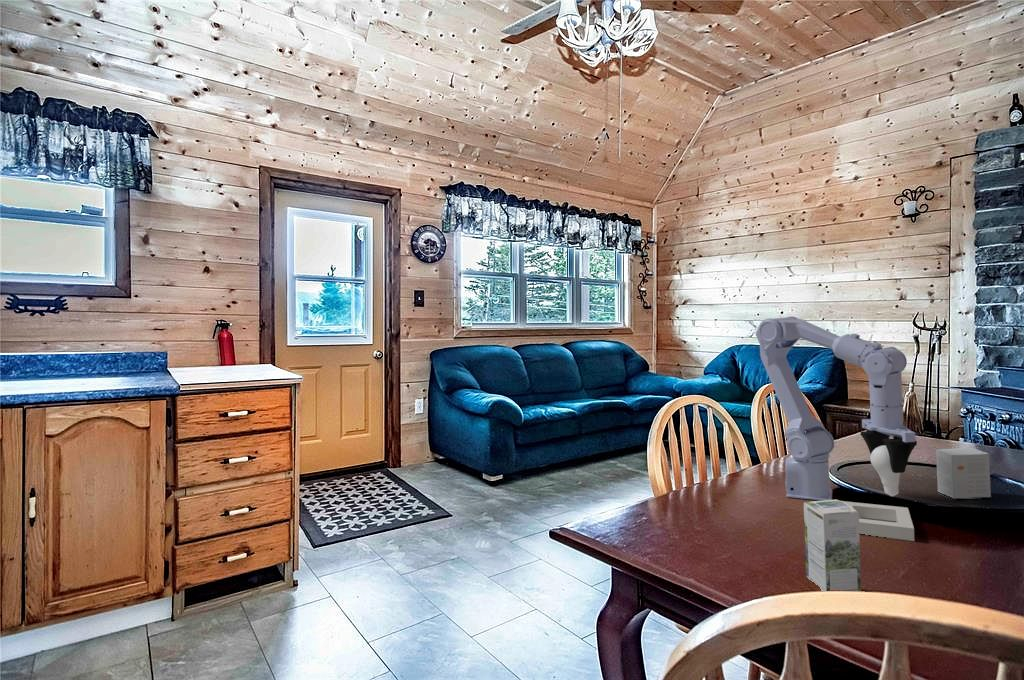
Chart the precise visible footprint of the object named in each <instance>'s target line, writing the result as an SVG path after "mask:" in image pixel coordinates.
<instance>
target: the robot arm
mask: <svg viewBox="0 0 1024 680" xmlns="http://www.w3.org/2000/svg"><path fill="white" fill-rule="evenodd" d="M755 336H756V338H757V340H758V343H759V355H760V356H759V357H760V360H761V362H762V365H763V366H764V368H765V372H766V374H767V375H768V378H769V381H770V383H771V385H772V387H773V389H774V392H775V394H776V397H777V398H778V401H779V403H780V405H781V409H782V410H783V413H784V415H785V417H786V419H787V421H788V425H787V427H786V429H785V431H784V434H785V437H786V443H787V450H788V453H790V455H791V456H792V457H791V456H789V457H788V456H787V457H786V458H785V471H784V472H785V483H784V485H785V490H786V491H785V492H786V496H785V497H787V498H794V499H804V500H805V499H806V500H812V501H813V500H814V501H824V500H833V489H831V488H830V485H831V484H830V467H829V464H830V463H829V462H830V461H829V458H830V453H831V452H833V450H834V448H835V439H834V437H833V435H832V434H831V433H830V432H829V431H828V430H827V429H826V428H825V425H824V424H823V422H822V421H820V420H819V419H818V418H816V417H815V416H813V415H812V413H811V410H810V408H809V405H808V404H807V401H806V398H805V396H804V394H803V392H802V390H801V388H800V386H799V383H798V381H797V379H796V377H795V374H794V373H793V370H792V368H791V366H790V363H789V361H788V359H787V356H788V354H789V351H790V350H791V349H792V347H793V346H794V345H795V344H796V343H797V342H798V341H799V340H800V339H803V340H805V341H807V342H810V343H813V344H816V345H819V346H821V347H824V348H827V349H830V350H832V352H833V354H834V356H835V357H836V358H837V359H840V360H843V361H845V362H847V363H850V364H853V365H854V366H857V367H859V368H862V369H863V371H864V372H865V374H867V376H868V382H869V383H868V385H869V404H870V405H869V407H870V418H862V419H861V427H862V429H864V431H863V430H862V431H860V436H861V437H862V438H863V441H864V442H865V444H866V446H867V448H868V451H869V454H870V455H871V453H872V451H873V450H874V449H875V448H877V447H879V446H883V445H886V447H887V450H888V453H889V457H890V464H891V469H892V472H893V473H900V474H901V473H905V472H906V468H907V465H908V462H909V459H910V455H911V453H912V452H913V450H914V449H915V447H916V446H917V443H918V442H917V440H916V432H915V431H912V430H910V429H909V428H908V427H907V426H905V425H904V413H903V412H904V411H903V407H904V406H903V384H902V383H903V382H902V379H903V378H902V372H903V371H904V370H905V369H906V366H907V362H908V360H907V357H906V355H905V353H904V352H903V351H901V349H900V350H899V349H898V348H897V347H895V346H887V347H882V343H879V342H871V341H868V340H865V339H863V338H860V336H861V335H860V334H857V333H850V334H849V333H848V334H847V333H846V334H843V335H842V336H840V335H838V334H835V333H833V332H831V331H828V330H826V329H825V328H822V327H820V326H817V325H815V324H813V323H811V322H809V321H807V320H805V319H802V318H798V317H796V316H786V317H778V318H770V317H769V318H764V319H763V320H762V321H760V323H759V325H758V328H757V330H756V332H755ZM865 430H866V431H865ZM891 437H893V438H891Z"/></svg>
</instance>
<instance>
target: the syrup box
mask: <svg viewBox="0 0 1024 680" xmlns="http://www.w3.org/2000/svg"><path fill="white" fill-rule="evenodd" d="M842 501H843V500H839V499H832V500H824V501H822V500H814V501H813V500H812V501H804V502H803V521H804V523H803V524H804V547H805V578H806V577H807V578H808V579H809V580H811V581H812V582H814V583H815V584H816V585H818V586H819V587H820V589H821V591H831V590H841V591H861V592H862V587H861V585H862V584H861V583H862V582H861V579H862V578H861V577H862V576H861V546H860V537H861V536H860V534H859V512H857V511H856V510H855V509H854V508H852V507H851V506H849V505H847V504H846V503H844V502H842Z"/></svg>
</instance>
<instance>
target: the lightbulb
mask: <svg viewBox="0 0 1024 680" xmlns="http://www.w3.org/2000/svg"><path fill="white" fill-rule="evenodd" d="M869 459H870V463H871V466H872V467H873V468H874V469H875V471H876V472H877V473H878V475H879V478H880V481H881V484H882V485H883V491H884V493H885V494H886V495H888V496H890V497H895V496H896V495H899V493H900V489H899V484H900V476H901V473H893V472H892V469H891V464H890V457H889V453H888V450H887V447H886V445H883V446H879V447H877V448H875V449H874V450H873V451H872V453H871V454H870V458H869Z"/></svg>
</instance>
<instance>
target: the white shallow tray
mask: <svg viewBox="0 0 1024 680" xmlns="http://www.w3.org/2000/svg"><path fill="white" fill-rule="evenodd" d="M841 501H842V502H844V503H846V504H847V505H849V506H851V507H852V508H854V509H855V510H856V511H857V512H859V533H860V534H865V535H864V536H868V535H871V536H870V537H876V536H878V538H884V537H886V539H891V540H892V539H893V540H899V541H900V540H902V541H907V542H908V541H910V542H915V527H914V524H913V520H912V518H911V513H910V510H909V507H906V506H905V507H904V506H896V505H895V506H894V505H884V504H873V503H864V502H854V501H846V500H845V501H844V500H841ZM860 534H859V535H860Z"/></svg>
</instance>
